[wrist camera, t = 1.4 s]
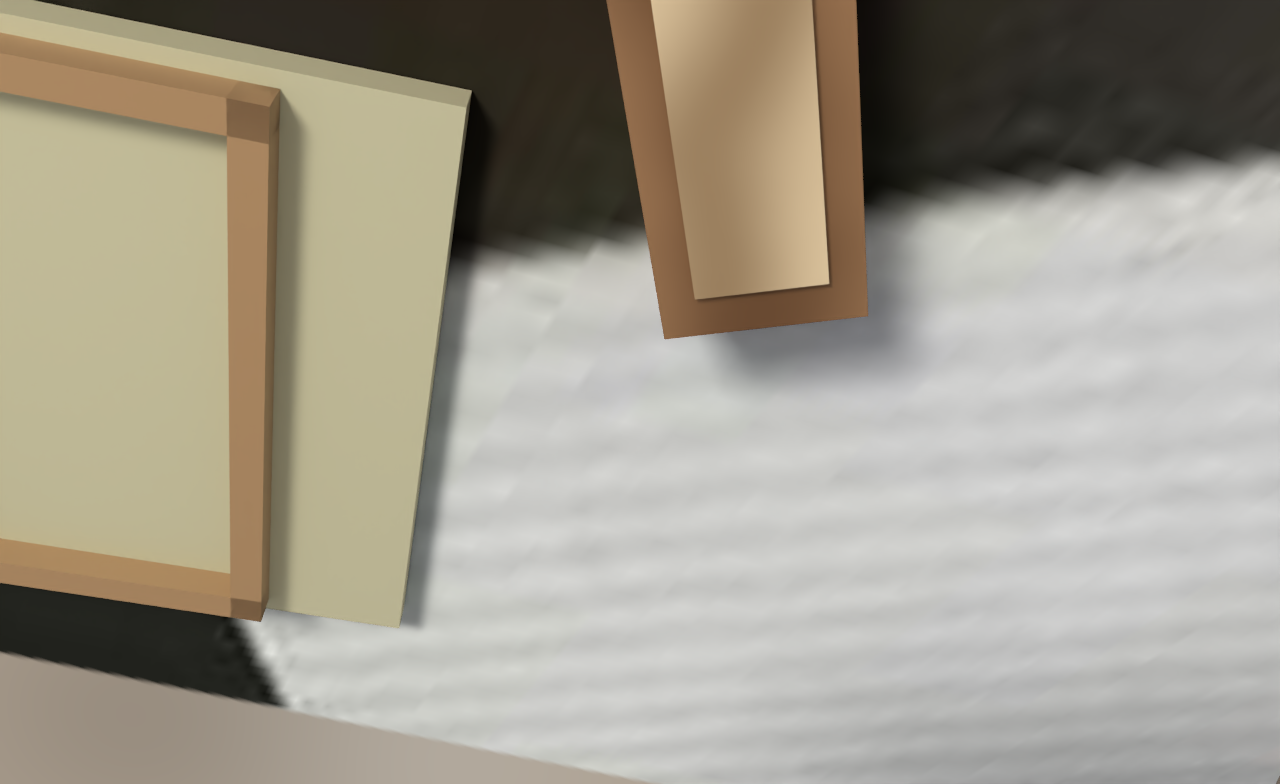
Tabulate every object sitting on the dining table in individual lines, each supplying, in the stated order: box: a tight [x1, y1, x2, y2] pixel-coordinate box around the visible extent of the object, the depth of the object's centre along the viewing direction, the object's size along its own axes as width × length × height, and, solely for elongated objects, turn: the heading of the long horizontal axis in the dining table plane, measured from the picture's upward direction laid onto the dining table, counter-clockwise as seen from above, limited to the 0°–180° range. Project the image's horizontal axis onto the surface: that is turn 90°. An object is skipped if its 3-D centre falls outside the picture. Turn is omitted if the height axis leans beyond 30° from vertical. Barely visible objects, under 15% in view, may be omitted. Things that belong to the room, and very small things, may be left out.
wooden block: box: [607, 0, 868, 339], centre depth 27 cm, size 5×12×5 cm, turn 9°
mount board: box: [0, 0, 472, 628], centre depth 34 cm, size 20×20×2 cm
